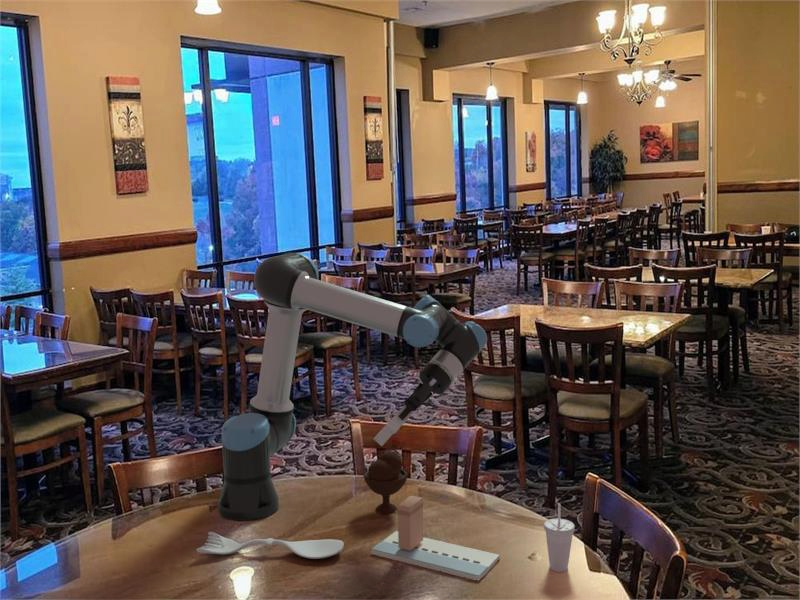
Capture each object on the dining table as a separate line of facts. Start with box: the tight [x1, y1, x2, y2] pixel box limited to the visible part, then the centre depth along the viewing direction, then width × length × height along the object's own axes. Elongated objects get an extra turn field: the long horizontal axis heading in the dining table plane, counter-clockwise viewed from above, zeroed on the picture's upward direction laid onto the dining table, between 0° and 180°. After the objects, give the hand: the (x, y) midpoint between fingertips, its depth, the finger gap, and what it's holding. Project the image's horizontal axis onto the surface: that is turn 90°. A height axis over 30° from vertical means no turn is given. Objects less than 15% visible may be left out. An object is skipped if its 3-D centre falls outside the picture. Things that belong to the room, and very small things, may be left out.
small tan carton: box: [397, 495, 424, 551], centre depth 176 cm, size 3×6×10 cm, turn 150°
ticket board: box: [371, 530, 501, 582], centre depth 174 cm, size 26×11×1 cm, turn 60°
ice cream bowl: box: [363, 450, 409, 515], centre depth 199 cm, size 11×11×15 cm
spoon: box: [196, 531, 345, 560], centre depth 177 cm, size 9×32×4 cm, turn 86°
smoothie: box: [543, 503, 576, 573], centre depth 167 cm, size 6×6×14 cm
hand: (383, 436), depth 183 cm, fingers open, 13 cm apart
